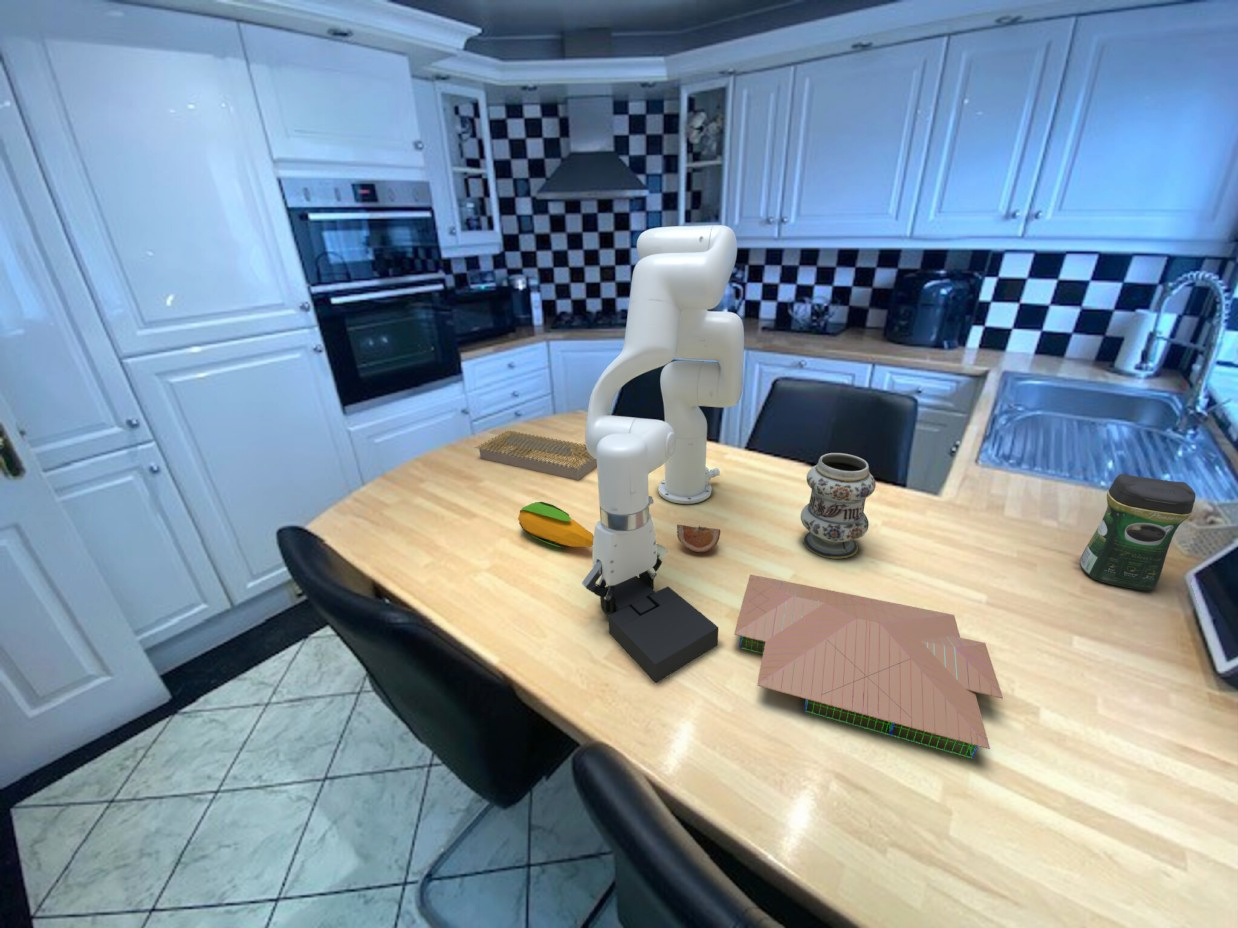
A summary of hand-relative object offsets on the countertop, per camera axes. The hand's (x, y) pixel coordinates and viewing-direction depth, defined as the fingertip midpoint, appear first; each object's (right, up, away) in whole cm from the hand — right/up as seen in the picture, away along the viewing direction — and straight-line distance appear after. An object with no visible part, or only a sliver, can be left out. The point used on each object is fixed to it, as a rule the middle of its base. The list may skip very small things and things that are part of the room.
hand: (628, 603), depth 85 cm
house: (+32, -5, -12) cm, 35 cm away
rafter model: (-23, +25, +56) cm, 66 cm away
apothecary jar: (+40, +8, +14) cm, 43 cm away
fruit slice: (+14, +7, +15) cm, 22 cm away
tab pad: (+1, -1, -1) cm, 2 cm away
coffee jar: (+84, +4, +2) cm, 84 cm away
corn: (-14, +7, +19) cm, 25 cm away
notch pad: (+5, -4, -7) cm, 9 cm away
